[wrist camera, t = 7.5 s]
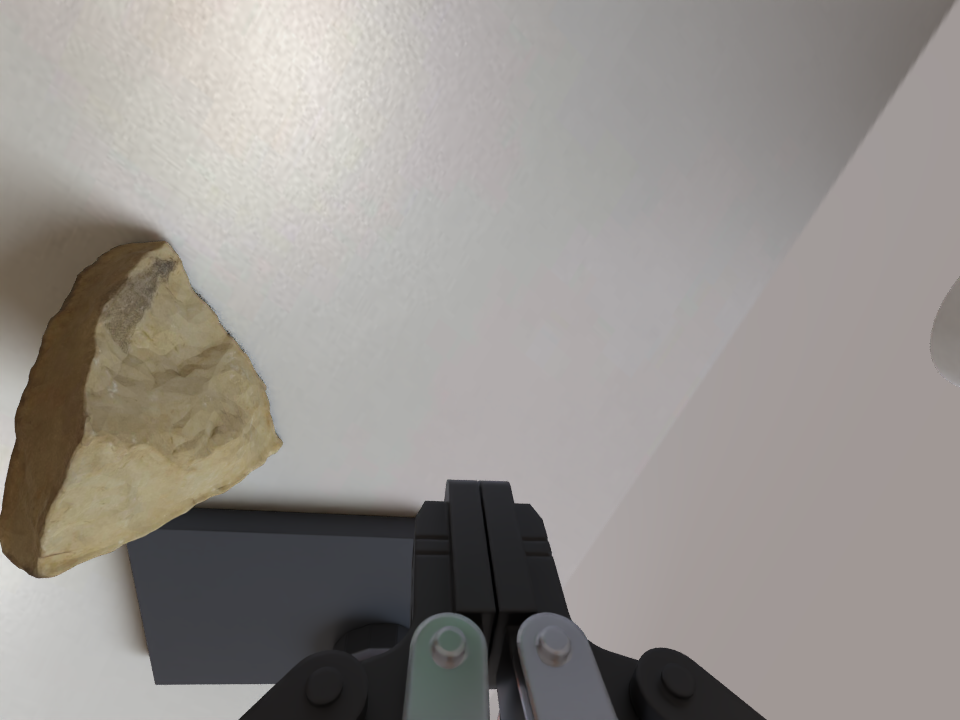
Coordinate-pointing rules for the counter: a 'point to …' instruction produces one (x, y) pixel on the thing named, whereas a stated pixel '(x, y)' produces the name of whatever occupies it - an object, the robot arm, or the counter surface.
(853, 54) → the counter surface
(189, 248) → the counter surface
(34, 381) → the rock
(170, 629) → the scale
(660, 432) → the counter surface
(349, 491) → the counter surface
